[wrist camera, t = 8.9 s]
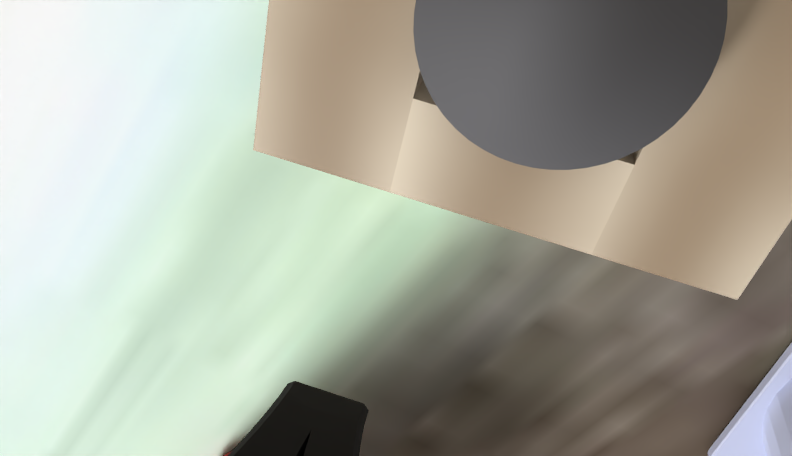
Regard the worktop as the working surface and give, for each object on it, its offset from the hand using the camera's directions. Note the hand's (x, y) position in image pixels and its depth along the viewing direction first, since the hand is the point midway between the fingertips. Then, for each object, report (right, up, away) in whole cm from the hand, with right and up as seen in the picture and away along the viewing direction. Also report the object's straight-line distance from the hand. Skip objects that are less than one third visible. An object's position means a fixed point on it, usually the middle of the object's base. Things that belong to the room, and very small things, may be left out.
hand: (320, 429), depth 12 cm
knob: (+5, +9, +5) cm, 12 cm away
